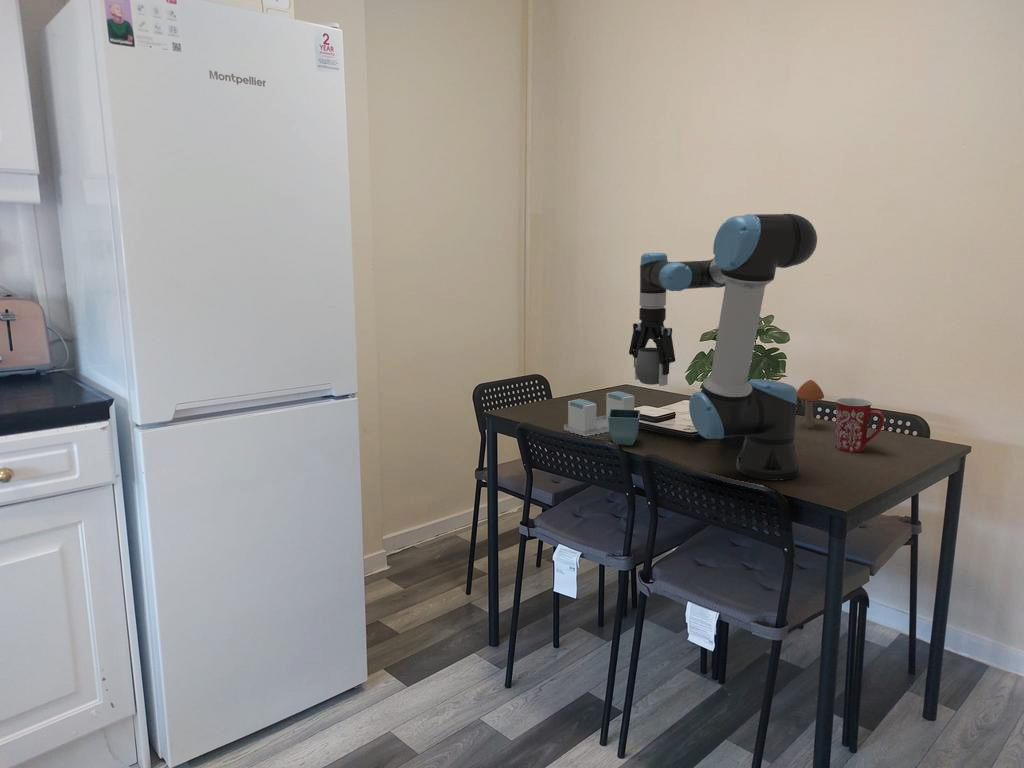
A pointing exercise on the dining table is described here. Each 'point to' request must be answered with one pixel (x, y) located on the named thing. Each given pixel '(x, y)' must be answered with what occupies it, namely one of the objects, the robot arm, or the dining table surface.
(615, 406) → the block
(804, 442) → the dining table surface
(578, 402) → the block
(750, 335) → the robot arm
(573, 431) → the grey flat slab
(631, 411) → the flower pot
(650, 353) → the cup
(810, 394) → the mushroom
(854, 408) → the mug
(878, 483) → the dining table surface
